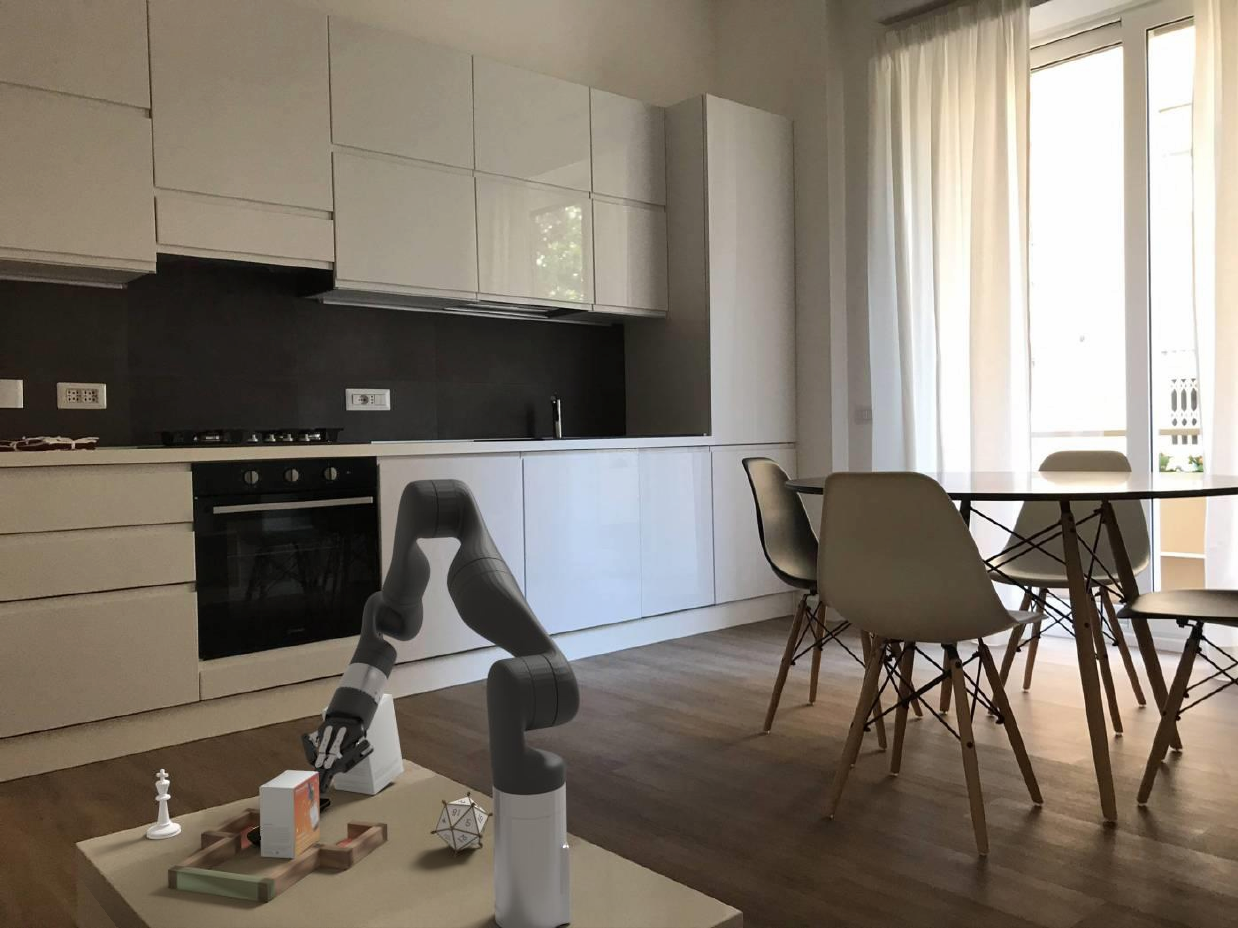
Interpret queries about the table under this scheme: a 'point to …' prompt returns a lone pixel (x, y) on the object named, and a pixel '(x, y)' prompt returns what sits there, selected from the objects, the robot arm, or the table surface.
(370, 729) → the supplement box
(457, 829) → the game die
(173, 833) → the chess piece
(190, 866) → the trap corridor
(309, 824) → the small box
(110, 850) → the table surface
